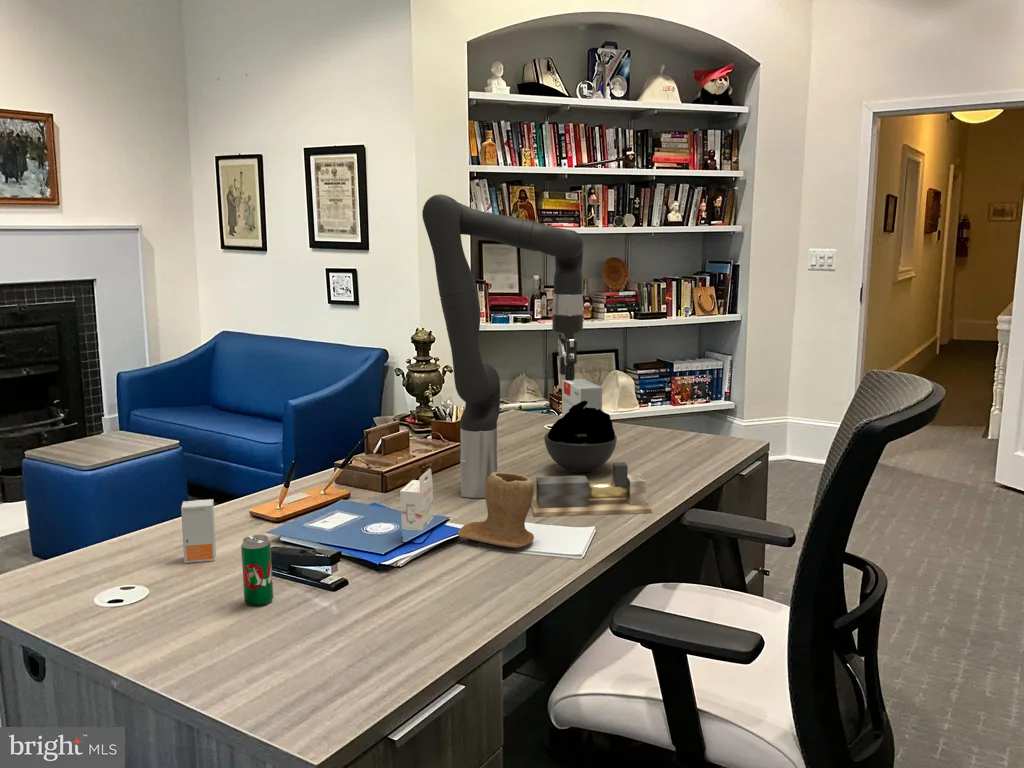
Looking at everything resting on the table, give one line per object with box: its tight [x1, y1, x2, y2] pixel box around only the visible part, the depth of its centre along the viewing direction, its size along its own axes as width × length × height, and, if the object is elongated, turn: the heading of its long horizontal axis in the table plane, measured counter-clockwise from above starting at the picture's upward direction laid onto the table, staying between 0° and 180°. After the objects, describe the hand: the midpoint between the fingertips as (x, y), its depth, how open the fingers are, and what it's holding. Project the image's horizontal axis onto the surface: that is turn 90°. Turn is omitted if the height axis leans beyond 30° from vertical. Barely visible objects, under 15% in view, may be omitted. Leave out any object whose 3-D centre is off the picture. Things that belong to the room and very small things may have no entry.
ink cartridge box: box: [399, 467, 434, 531], centre depth 187 cm, size 9×5×15 cm, turn 168°
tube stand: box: [530, 473, 652, 518], centre depth 208 cm, size 28×12×7 cm, turn 95°
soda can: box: [240, 534, 274, 607], centre depth 155 cm, size 5×5×12 cm
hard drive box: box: [561, 378, 603, 418], centre depth 266 cm, size 16×8×20 cm, turn 17°
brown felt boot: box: [457, 471, 535, 548], centre depth 185 cm, size 15×12×15 cm
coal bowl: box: [544, 401, 618, 474], centre depth 238 cm, size 20×20×19 cm
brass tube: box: [589, 462, 630, 499], centre depth 208 cm, size 17×4×8 cm, turn 95°
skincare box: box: [180, 498, 217, 564], centre depth 175 cm, size 6×4×12 cm
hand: (567, 377), depth 214 cm, fingers open, 8 cm apart
